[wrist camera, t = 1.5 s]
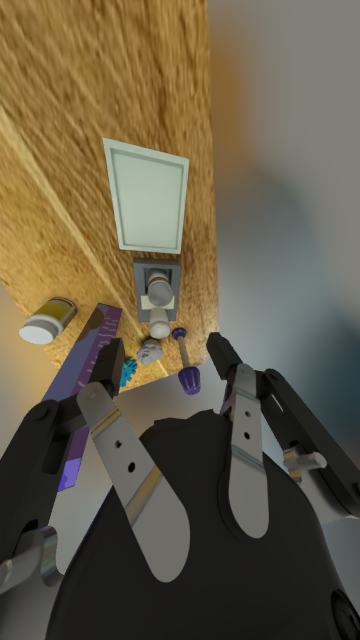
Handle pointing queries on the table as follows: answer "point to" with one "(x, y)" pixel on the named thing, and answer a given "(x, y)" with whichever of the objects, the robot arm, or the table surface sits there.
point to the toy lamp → (186, 366)
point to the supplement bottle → (48, 321)
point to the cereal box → (82, 377)
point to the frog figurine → (149, 352)
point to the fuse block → (145, 307)
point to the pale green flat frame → (147, 196)
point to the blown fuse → (159, 288)
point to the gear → (127, 372)
